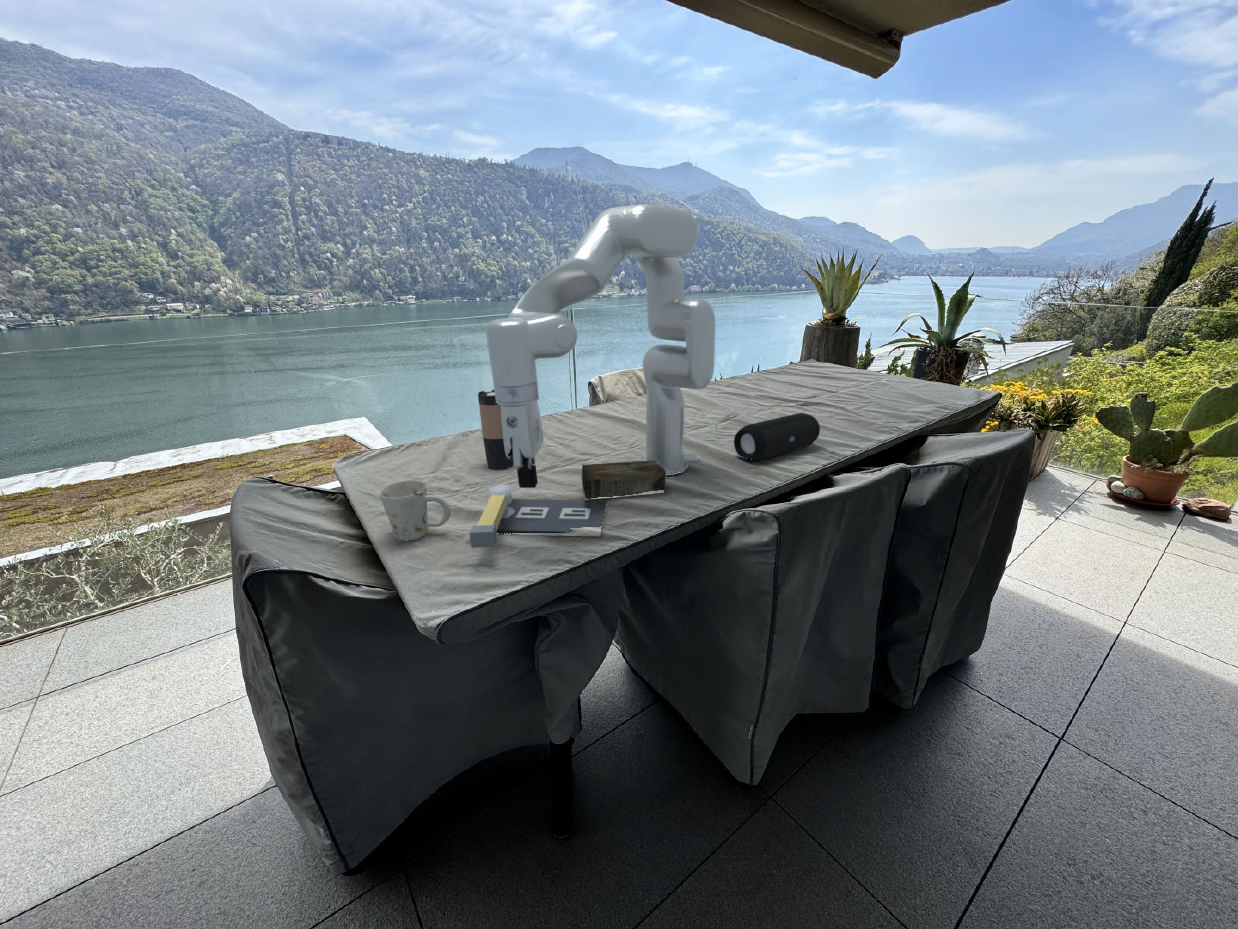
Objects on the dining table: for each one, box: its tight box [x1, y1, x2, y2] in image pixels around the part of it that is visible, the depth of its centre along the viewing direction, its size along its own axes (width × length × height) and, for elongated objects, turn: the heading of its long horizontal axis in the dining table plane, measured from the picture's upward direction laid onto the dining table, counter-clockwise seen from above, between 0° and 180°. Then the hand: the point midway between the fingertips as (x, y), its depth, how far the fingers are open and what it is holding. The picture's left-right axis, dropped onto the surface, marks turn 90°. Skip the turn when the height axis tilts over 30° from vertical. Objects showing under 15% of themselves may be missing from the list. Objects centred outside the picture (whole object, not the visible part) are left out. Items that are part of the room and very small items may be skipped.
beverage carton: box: [581, 460, 667, 500], centre depth 112 cm, size 8×19×7 cm, turn 100°
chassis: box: [496, 498, 608, 534], centre depth 100 cm, size 24×14×4 cm, turn 86°
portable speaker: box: [733, 412, 821, 461], centre depth 134 cm, size 26×10×10 cm, turn 121°
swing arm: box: [468, 484, 513, 549], centre depth 92 cm, size 20×4×3 cm, turn 3°
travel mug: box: [477, 388, 514, 471], centre depth 126 cm, size 8×8×20 cm
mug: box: [378, 479, 452, 541], centre depth 94 cm, size 8×13×10 cm, turn 95°
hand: (528, 485), depth 91 cm, fingers closed
